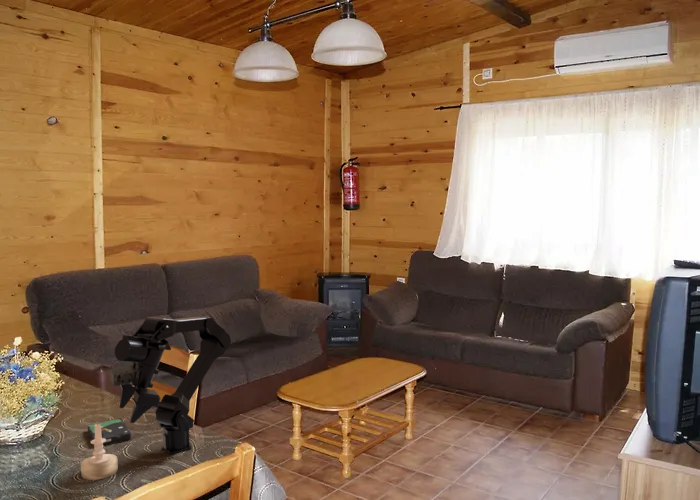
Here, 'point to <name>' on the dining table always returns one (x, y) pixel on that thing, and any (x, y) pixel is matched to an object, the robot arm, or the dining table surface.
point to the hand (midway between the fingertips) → (126, 415)
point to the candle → (98, 448)
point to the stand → (99, 468)
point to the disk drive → (111, 431)
